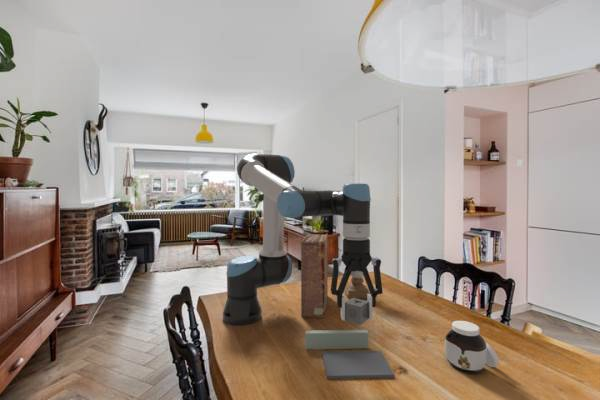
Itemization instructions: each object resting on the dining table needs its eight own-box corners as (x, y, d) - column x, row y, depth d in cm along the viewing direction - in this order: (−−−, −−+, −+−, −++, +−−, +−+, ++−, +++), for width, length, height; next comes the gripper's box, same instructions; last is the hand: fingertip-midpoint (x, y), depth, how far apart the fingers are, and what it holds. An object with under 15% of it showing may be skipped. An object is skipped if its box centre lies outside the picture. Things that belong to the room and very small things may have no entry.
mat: (327, 378, 79) (327, 375, 79) (322, 354, 91) (322, 351, 91) (394, 377, 80) (394, 374, 80) (380, 353, 92) (380, 350, 92)
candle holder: (371, 298, 138) (371, 247, 138) (347, 298, 138) (347, 247, 138) (366, 290, 149) (366, 243, 148) (344, 290, 149) (344, 243, 149)
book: (308, 294, 143) (308, 232, 143) (327, 295, 142) (327, 233, 141) (301, 317, 118) (301, 241, 117) (324, 318, 117) (324, 242, 116)
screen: (305, 349, 94) (305, 333, 94) (305, 345, 96) (305, 330, 96) (368, 348, 95) (368, 332, 94) (367, 344, 97) (367, 329, 96)
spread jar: (440, 362, 87) (441, 323, 86) (458, 350, 94) (459, 313, 93) (486, 383, 77) (487, 339, 77) (502, 367, 84) (503, 327, 84)
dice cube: (368, 318, 85) (368, 301, 85) (360, 325, 81) (360, 306, 81) (352, 314, 88) (352, 297, 88) (344, 320, 84) (344, 302, 84)
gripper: (322, 240, 80) (322, 324, 81) (395, 239, 81) (395, 323, 82) (320, 236, 88) (320, 313, 89) (387, 235, 88) (386, 312, 89)
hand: (356, 318), depth 85 cm, fingers closed on dice cube, 7 cm apart
